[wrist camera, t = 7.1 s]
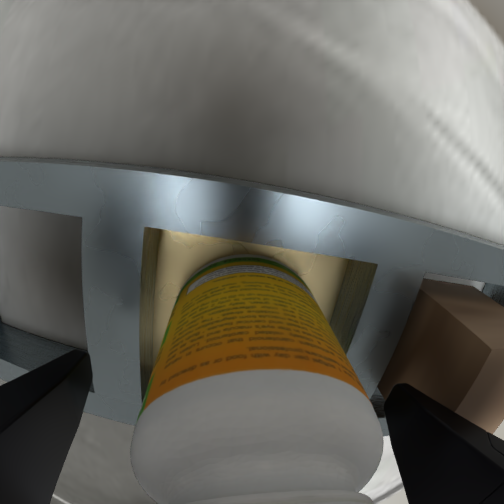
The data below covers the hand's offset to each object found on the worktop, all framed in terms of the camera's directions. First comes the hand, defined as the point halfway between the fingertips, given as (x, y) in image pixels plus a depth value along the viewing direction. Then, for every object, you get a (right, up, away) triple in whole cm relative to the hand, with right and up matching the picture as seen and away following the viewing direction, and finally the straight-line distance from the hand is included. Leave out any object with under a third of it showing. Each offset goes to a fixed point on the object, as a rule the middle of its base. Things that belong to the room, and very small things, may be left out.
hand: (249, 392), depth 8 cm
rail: (0, +1, +4) cm, 4 cm away
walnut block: (+9, 0, +5) cm, 10 cm away
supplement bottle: (0, +1, +4) cm, 4 cm away
